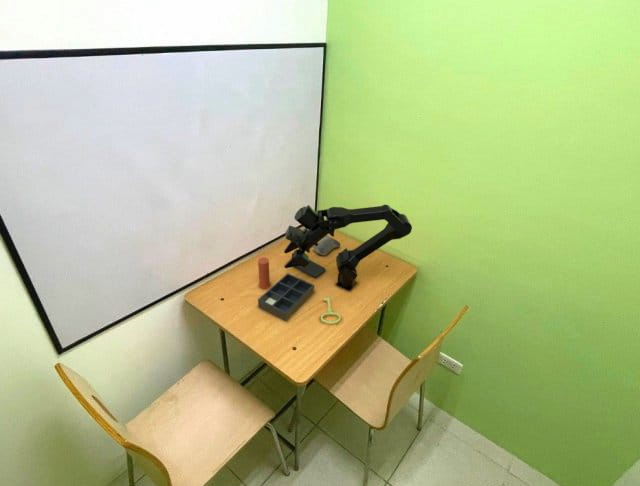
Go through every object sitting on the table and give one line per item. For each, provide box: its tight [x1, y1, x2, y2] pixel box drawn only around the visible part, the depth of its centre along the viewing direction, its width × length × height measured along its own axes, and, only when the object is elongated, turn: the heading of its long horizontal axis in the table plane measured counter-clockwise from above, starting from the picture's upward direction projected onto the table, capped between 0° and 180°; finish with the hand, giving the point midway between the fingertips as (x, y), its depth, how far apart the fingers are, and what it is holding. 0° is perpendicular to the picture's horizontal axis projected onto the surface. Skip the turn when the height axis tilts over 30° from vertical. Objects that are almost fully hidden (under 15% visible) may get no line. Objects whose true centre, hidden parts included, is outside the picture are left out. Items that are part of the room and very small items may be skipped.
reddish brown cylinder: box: [257, 257, 271, 290], centre depth 144 cm, size 4×4×12 cm
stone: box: [312, 234, 341, 256], centre depth 168 cm, size 12×5×10 cm
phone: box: [295, 259, 326, 279], centre depth 158 cm, size 7×1×15 cm
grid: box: [257, 272, 315, 322], centre depth 141 cm, size 13×19×4 cm
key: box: [320, 296, 342, 325], centre depth 137 cm, size 7×12×2 cm, turn 23°
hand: (284, 259), depth 140 cm, fingers open, 9 cm apart
